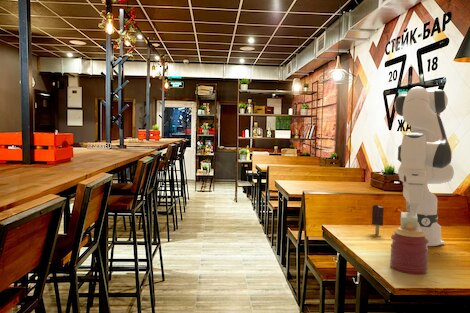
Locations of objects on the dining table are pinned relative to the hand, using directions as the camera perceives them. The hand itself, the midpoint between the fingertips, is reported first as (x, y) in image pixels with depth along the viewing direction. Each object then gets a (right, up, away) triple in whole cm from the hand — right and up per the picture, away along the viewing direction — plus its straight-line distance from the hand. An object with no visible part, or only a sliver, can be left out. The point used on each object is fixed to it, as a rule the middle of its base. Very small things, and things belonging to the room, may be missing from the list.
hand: (410, 213), depth 144 cm
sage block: (0, -4, +1) cm, 4 cm away
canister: (0, -22, +1) cm, 22 cm away
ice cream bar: (+7, -19, +52) cm, 56 cm away
